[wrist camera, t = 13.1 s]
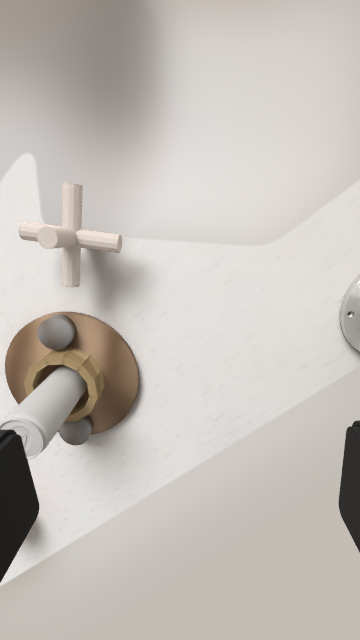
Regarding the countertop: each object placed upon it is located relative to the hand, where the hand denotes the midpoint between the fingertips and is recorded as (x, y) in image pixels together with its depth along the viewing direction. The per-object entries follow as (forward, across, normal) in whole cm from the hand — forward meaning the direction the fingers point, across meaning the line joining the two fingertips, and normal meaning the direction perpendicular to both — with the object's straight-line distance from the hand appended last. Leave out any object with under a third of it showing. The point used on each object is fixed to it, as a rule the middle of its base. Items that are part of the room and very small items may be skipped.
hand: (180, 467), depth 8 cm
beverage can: (+27, +17, +11) cm, 34 cm away
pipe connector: (+28, +12, -7) cm, 32 cm away
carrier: (+28, +17, +11) cm, 35 cm away
